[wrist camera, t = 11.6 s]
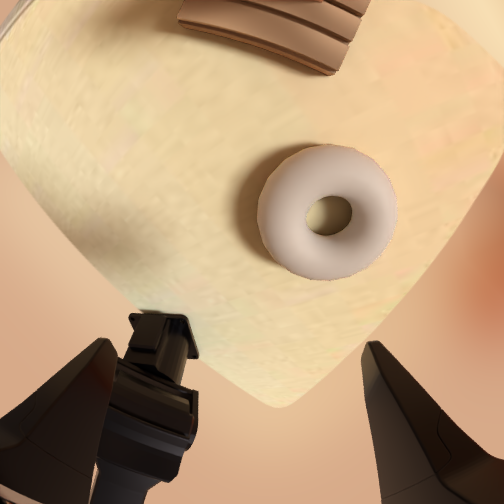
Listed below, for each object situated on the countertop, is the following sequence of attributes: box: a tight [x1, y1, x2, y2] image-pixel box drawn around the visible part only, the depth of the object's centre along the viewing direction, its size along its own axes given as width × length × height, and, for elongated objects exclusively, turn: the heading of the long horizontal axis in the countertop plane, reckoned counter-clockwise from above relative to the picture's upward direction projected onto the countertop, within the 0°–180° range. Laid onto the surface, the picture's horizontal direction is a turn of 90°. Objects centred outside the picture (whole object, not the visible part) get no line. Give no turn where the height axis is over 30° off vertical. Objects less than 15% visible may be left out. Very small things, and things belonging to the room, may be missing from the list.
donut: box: [257, 144, 398, 281], centre depth 18 cm, size 10×4×10 cm
